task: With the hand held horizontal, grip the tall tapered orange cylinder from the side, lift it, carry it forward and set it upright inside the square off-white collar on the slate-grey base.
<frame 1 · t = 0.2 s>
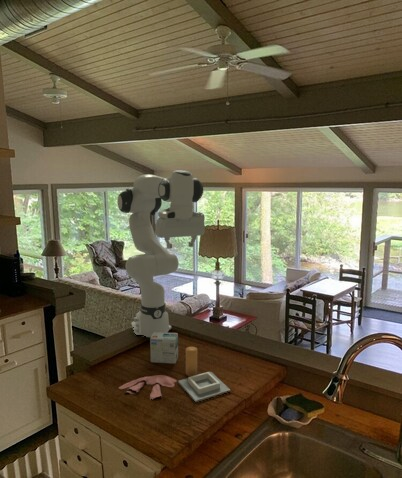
hand: (180, 247, 151), 48 cm above the counter, tool pointing down, fingers open, 8 cm apart
light bulb box: (164, 359, 160), on the counter
cloth: (146, 391, 138), on the counter
tapered orange cylinder: (191, 373, 149), on the counter
cylinder holder: (203, 387, 139), on the counter
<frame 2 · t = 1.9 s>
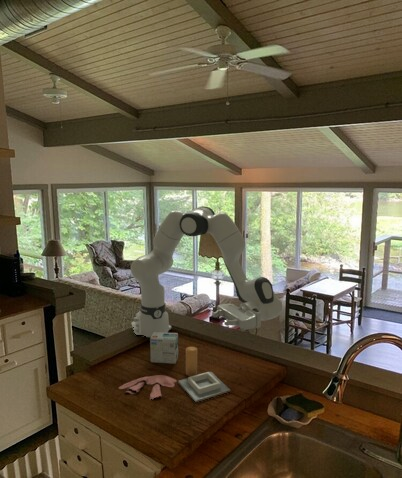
hand: (219, 319, 151), 20 cm above the counter, tool horizontal, fingers open, 8 cm apart
nothing on the counter moved.
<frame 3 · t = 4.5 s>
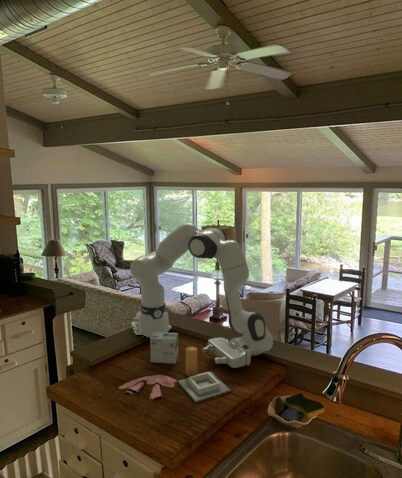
hand: (209, 355, 152), 5 cm above the counter, tool horizontal, fingers open, 8 cm apart
nothing on the counter moved.
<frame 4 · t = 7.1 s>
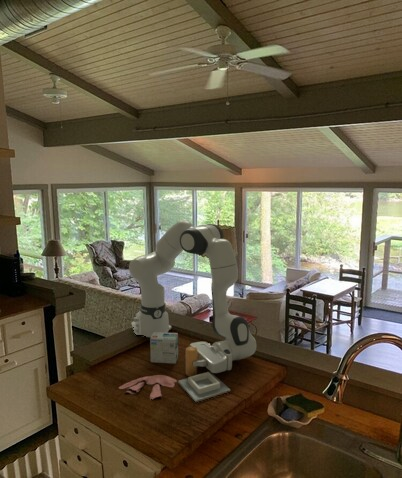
hand: (189, 360, 147), 6 cm above the counter, tool horizontal, fingers closed on tapered orange cylinder, 4 cm apart
tapered orange cylinder: (191, 373, 149), on the counter, touching gripper
everything else where it was.
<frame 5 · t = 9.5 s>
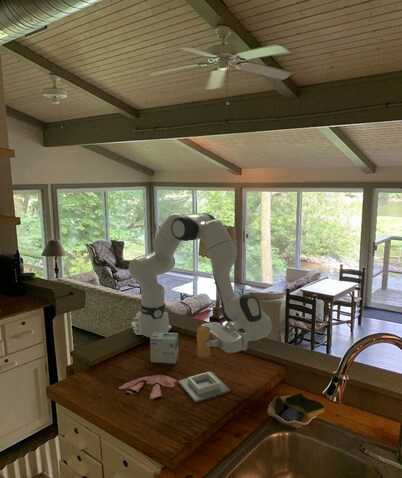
hand: (201, 340, 137), 18 cm above the counter, tool horizontal, fingers closed on tapered orange cylinder, 4 cm apart
tapered orange cylinder: (203, 354, 138), point 12 cm above the counter, touching gripper
everything else where it was.
when the fingers open (8 cm above the counter, at t = 11.8 s): tapered orange cylinder drops 1 cm, resting on cylinder holder.
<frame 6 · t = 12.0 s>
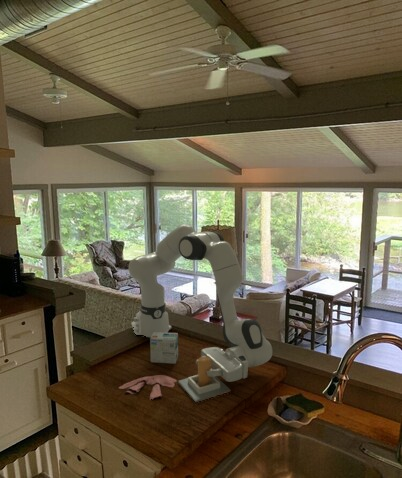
hand: (201, 367, 137), 8 cm above the counter, tool horizontal, fingers open, 7 cm apart
tapered orange cylinder: (204, 385, 139), point 1 cm above the counter, touching cylinder holder
everything else where it was.
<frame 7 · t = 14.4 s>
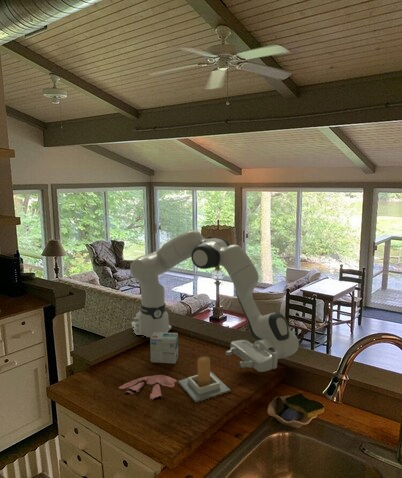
hand: (233, 359, 143), 8 cm above the counter, tool horizontal, fingers open, 8 cm apart
nothing on the counter moved.
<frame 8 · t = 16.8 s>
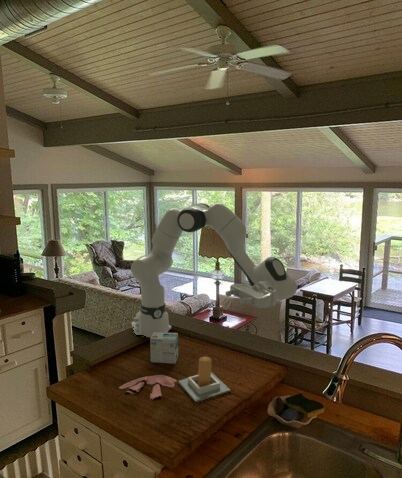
hand: (233, 297, 146), 30 cm above the counter, tool horizontal, fingers open, 8 cm apart
nothing on the counter moved.
at the end: tapered orange cylinder 0.1 cm off-centre on the cylinder holder, point 1.1 cm above the cylinder holder's base; tapered orange cylinder tilted 2°; the gripper is holding nothing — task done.
